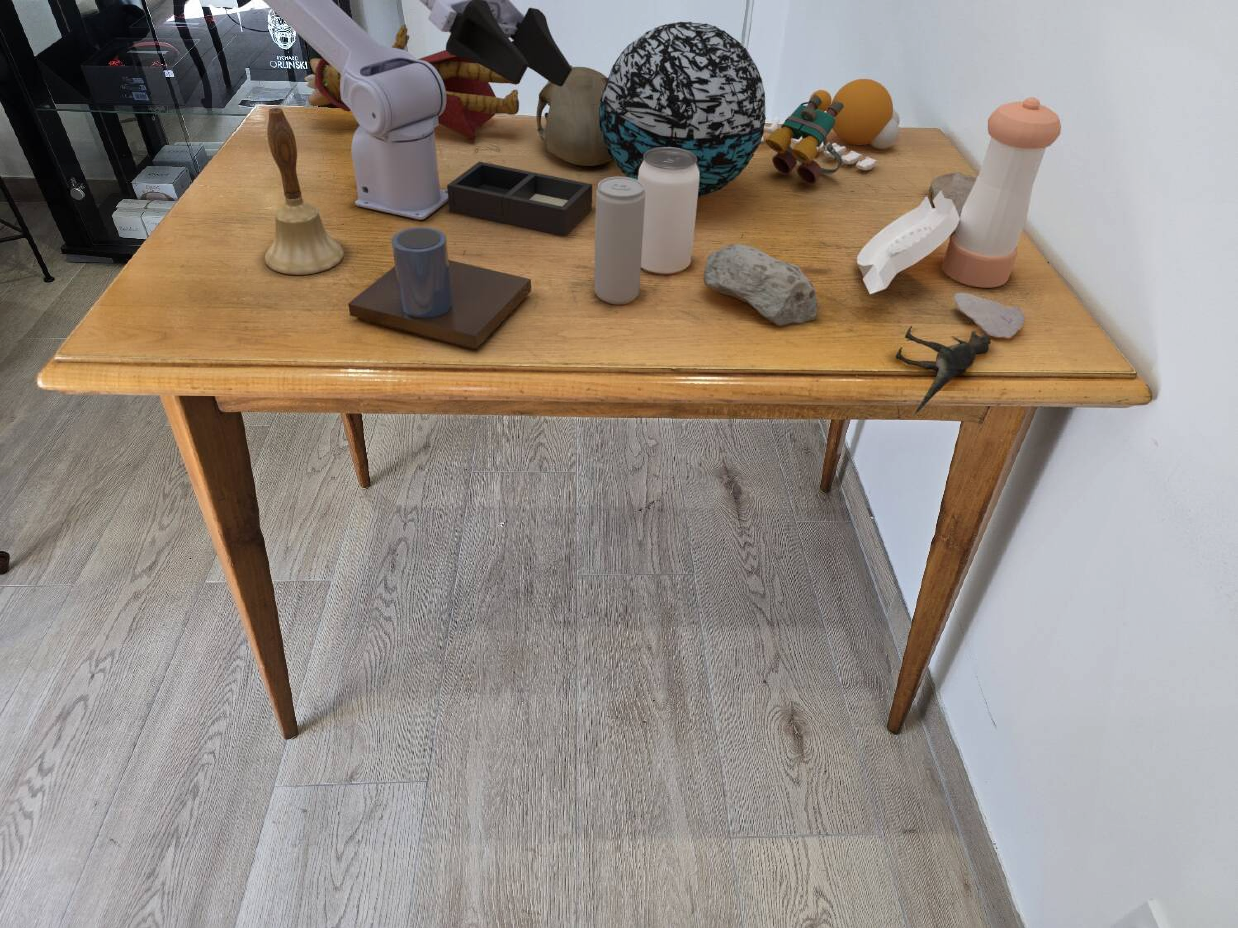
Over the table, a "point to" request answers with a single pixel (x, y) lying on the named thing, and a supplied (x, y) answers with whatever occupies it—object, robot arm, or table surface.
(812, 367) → the table surface
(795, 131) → the binoculars
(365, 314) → the shelf
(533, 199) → the rack
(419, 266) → the tumbler
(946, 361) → the dinosaur
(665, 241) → the can
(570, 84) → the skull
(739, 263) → the decorative stone
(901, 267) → the two-handled dish
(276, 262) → the hand bell
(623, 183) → the beverage can
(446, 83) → the figurine
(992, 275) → the pepper shaker
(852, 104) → the toy
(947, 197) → the stone
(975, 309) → the stone
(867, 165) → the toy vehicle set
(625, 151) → the decorative sphere
